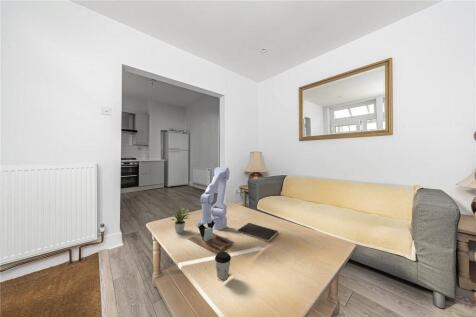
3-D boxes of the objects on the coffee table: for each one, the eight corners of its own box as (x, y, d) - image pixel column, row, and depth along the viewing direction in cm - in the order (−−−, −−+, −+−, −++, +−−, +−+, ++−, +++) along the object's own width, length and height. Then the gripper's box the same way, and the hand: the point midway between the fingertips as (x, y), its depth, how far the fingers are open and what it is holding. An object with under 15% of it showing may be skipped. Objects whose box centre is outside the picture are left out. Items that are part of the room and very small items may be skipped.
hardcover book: (268, 243, 103) (268, 239, 103) (237, 233, 116) (237, 229, 116) (277, 233, 117) (277, 230, 116) (249, 225, 130) (249, 222, 129)
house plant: (174, 239, 104) (175, 213, 104) (163, 233, 113) (163, 208, 112) (193, 231, 116) (194, 207, 115) (181, 226, 124) (182, 204, 124)
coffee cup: (230, 272, 76) (231, 250, 76) (230, 283, 69) (231, 259, 69) (215, 272, 76) (215, 250, 76) (213, 283, 69) (214, 259, 69)
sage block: (206, 235, 108) (206, 224, 108) (212, 238, 105) (212, 227, 105) (199, 238, 104) (199, 227, 104) (206, 241, 101) (206, 230, 101)
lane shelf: (207, 231, 116) (207, 228, 116) (235, 244, 100) (235, 240, 100) (187, 240, 103) (187, 236, 103) (216, 256, 88) (216, 251, 88)
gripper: (201, 217, 96) (201, 241, 96) (219, 211, 108) (218, 232, 108) (193, 215, 101) (193, 237, 101) (211, 209, 112) (211, 229, 112)
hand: (206, 234), depth 105 cm, fingers closed on sage block, 5 cm apart
